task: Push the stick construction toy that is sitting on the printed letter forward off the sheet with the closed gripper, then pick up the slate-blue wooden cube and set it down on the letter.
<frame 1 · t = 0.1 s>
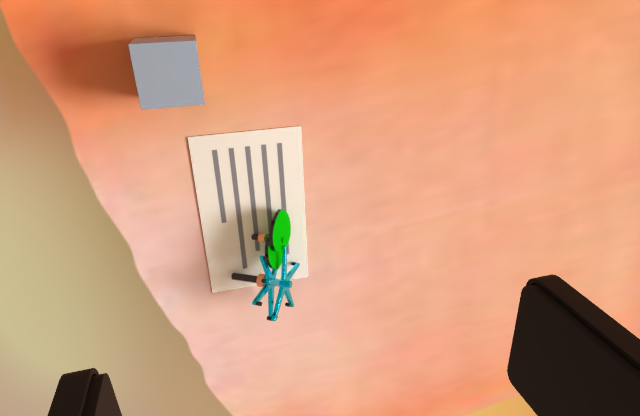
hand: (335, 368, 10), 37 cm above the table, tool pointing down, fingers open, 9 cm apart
stick construction toy: (262, 253, 51), resting on letter
cube: (170, 66, 41), on the table
letter: (254, 213, 49), on the table
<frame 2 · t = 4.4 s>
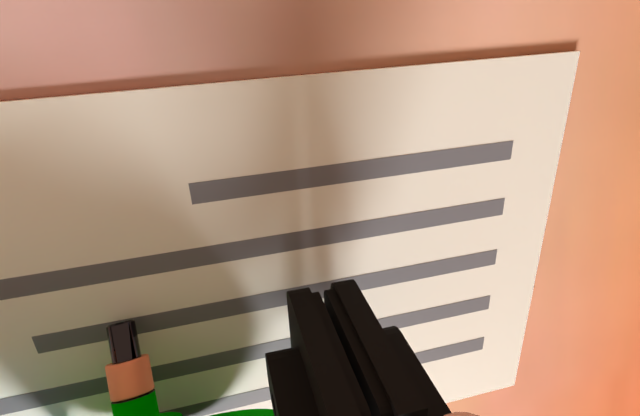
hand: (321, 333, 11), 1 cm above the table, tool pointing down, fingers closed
stick construction toy: (19, 360, 11), resting on letter, touching gripper
letter: (231, 305, 12), on the table
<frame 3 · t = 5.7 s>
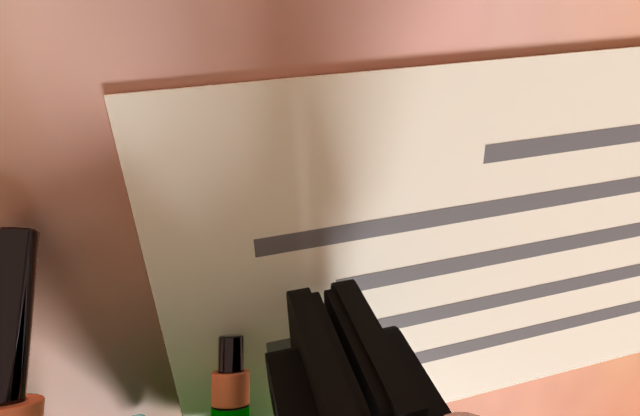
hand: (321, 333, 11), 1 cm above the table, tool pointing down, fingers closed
stick construction toy: (123, 351, 12), on the table, touching gripper
letter: (485, 256, 13), on the table
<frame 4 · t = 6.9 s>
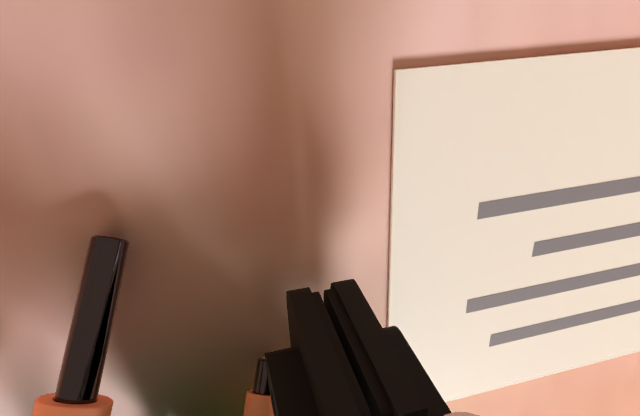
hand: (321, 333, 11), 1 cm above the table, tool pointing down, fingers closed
stick construction toy: (164, 361, 12), on the table, touching gripper
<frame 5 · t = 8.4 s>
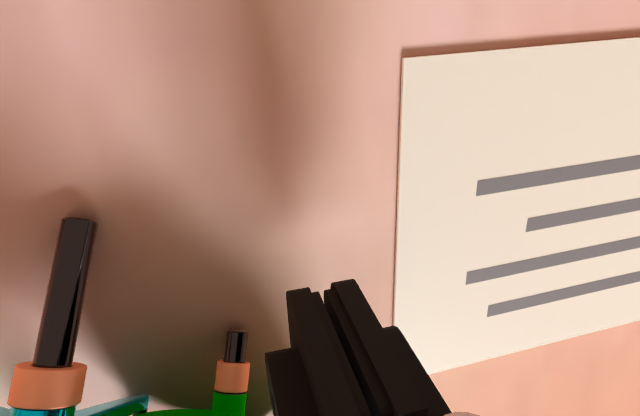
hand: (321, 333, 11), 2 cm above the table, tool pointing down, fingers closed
stick construction toy: (140, 335, 13), on the table
letter: (637, 202, 16), on the table
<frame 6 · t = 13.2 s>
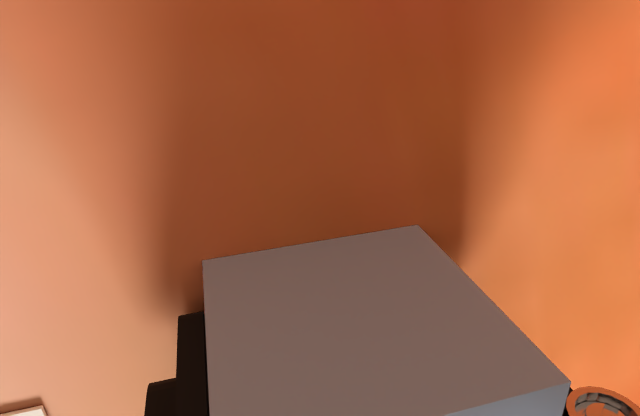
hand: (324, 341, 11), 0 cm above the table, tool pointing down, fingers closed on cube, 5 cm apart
cube: (319, 328, 11), on the table, touching gripper
when the fingers open (2 cm above the table, at t = 17.9 s): cube drops 1 cm, resting on letter.
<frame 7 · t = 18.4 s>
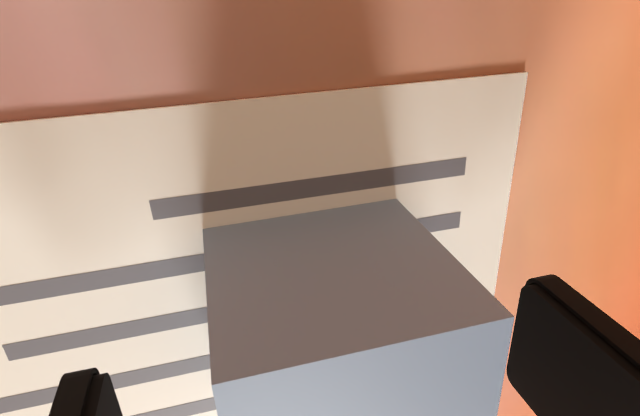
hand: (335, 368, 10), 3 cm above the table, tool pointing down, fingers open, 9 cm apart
cube: (309, 294, 13), resting on letter
letter: (195, 314, 12), on the table
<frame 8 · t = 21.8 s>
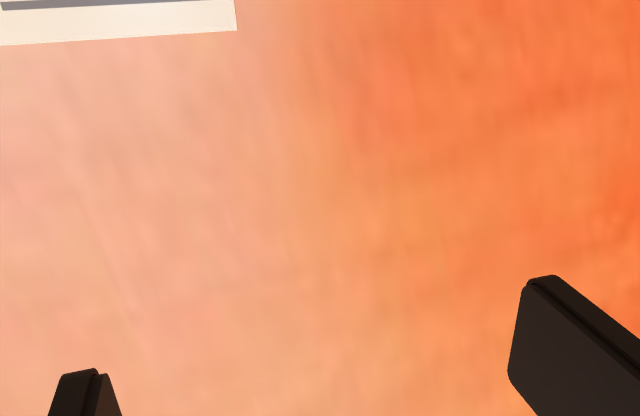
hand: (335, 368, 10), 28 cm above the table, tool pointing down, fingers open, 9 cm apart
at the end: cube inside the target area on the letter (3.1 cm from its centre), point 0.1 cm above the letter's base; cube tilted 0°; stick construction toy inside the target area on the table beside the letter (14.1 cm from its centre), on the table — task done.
